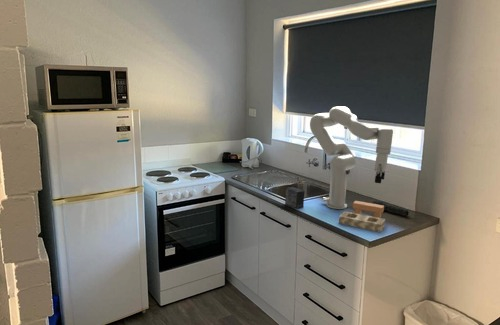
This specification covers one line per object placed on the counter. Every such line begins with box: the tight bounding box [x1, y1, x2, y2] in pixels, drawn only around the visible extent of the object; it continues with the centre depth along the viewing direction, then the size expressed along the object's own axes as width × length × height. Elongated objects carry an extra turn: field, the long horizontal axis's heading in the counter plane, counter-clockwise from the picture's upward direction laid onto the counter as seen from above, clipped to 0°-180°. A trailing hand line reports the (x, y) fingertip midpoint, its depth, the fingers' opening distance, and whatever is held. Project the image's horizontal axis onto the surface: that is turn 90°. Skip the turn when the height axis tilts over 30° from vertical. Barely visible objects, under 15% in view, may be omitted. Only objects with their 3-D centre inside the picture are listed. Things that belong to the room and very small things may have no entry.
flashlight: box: [372, 200, 409, 218], centre depth 227 cm, size 5×21×5 cm, turn 43°
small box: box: [284, 186, 305, 209], centre depth 233 cm, size 11×6×10 cm, turn 35°
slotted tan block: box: [338, 211, 386, 233], centre depth 205 cm, size 22×10×4 cm, turn 60°
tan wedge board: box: [352, 200, 385, 218], centre depth 216 cm, size 16×5×8 cm, turn 60°
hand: (379, 180), depth 212 cm, fingers open, 9 cm apart
